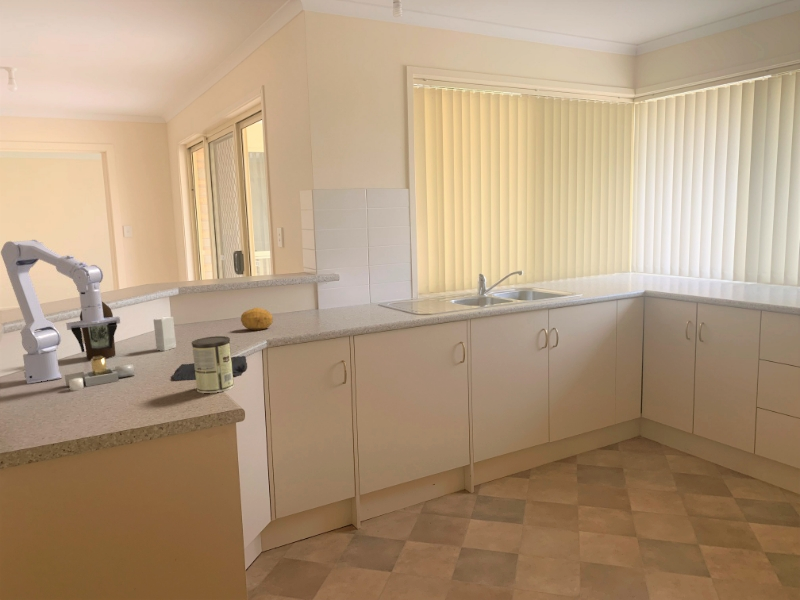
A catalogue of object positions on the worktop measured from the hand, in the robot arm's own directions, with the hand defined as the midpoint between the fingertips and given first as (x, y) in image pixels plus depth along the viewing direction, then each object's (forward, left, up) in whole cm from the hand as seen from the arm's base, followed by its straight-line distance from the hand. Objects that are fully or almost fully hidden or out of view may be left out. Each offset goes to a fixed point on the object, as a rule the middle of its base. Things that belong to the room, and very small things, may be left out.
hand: (97, 349), depth 186 cm
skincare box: (+26, +34, -10) cm, 44 cm away
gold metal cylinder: (0, 0, -10) cm, 10 cm away
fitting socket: (0, 0, -10) cm, 10 cm away
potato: (+66, +47, -10) cm, 82 cm away
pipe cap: (-7, -6, -10) cm, 13 cm away
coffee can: (+26, -34, -10) cm, 44 cm away
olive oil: (+4, +38, -10) cm, 40 cm away
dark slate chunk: (+30, -15, -11) cm, 35 cm away
